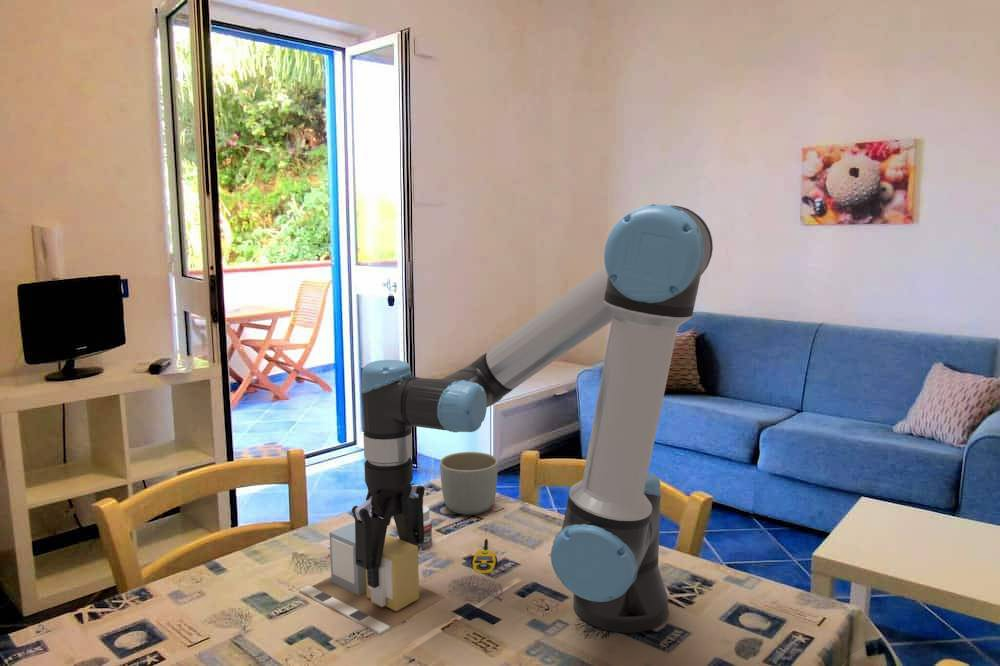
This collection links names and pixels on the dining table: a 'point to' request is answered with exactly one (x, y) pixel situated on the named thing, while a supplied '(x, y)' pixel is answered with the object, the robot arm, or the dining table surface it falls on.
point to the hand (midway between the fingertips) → (392, 595)
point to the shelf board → (367, 605)
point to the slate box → (346, 560)
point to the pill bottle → (426, 530)
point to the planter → (469, 481)
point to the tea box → (399, 573)
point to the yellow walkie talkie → (484, 560)
